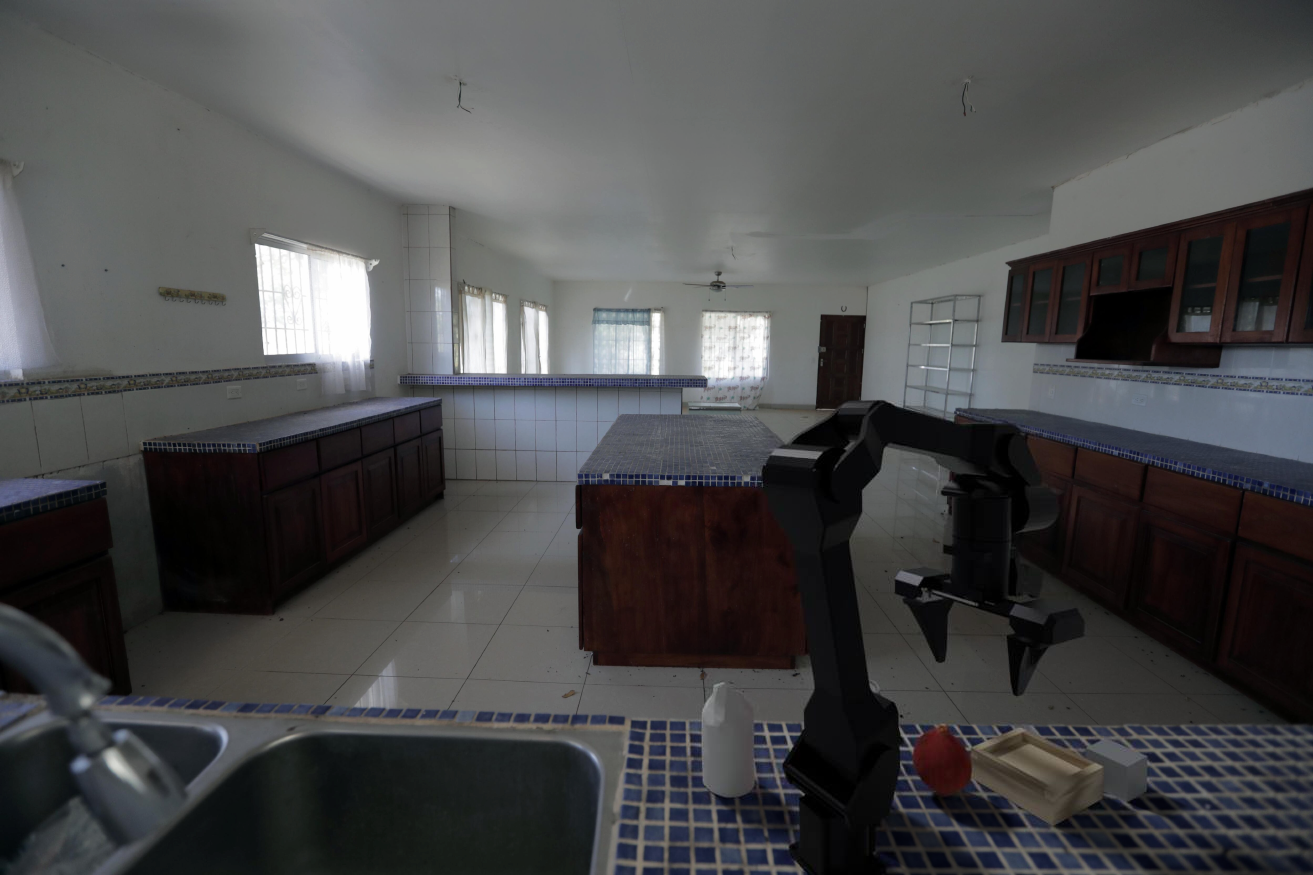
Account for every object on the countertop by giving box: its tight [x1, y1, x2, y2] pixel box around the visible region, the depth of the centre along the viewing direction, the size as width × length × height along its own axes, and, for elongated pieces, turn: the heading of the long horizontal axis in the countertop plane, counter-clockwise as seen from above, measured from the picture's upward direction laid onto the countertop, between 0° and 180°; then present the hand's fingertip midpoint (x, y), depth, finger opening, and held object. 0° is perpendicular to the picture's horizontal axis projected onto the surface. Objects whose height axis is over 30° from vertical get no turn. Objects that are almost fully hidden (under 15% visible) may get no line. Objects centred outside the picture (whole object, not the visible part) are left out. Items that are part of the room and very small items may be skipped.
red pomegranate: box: [911, 723, 972, 797], centre depth 65 cm, size 6×6×8 cm
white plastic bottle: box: [701, 682, 755, 798], centre depth 67 cm, size 6×12×6 cm
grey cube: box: [1085, 738, 1148, 804], centre depth 66 cm, size 4×4×4 cm
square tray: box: [970, 727, 1104, 827], centre depth 66 cm, size 9×9×4 cm
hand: (976, 677), depth 65 cm, fingers open, 9 cm apart
